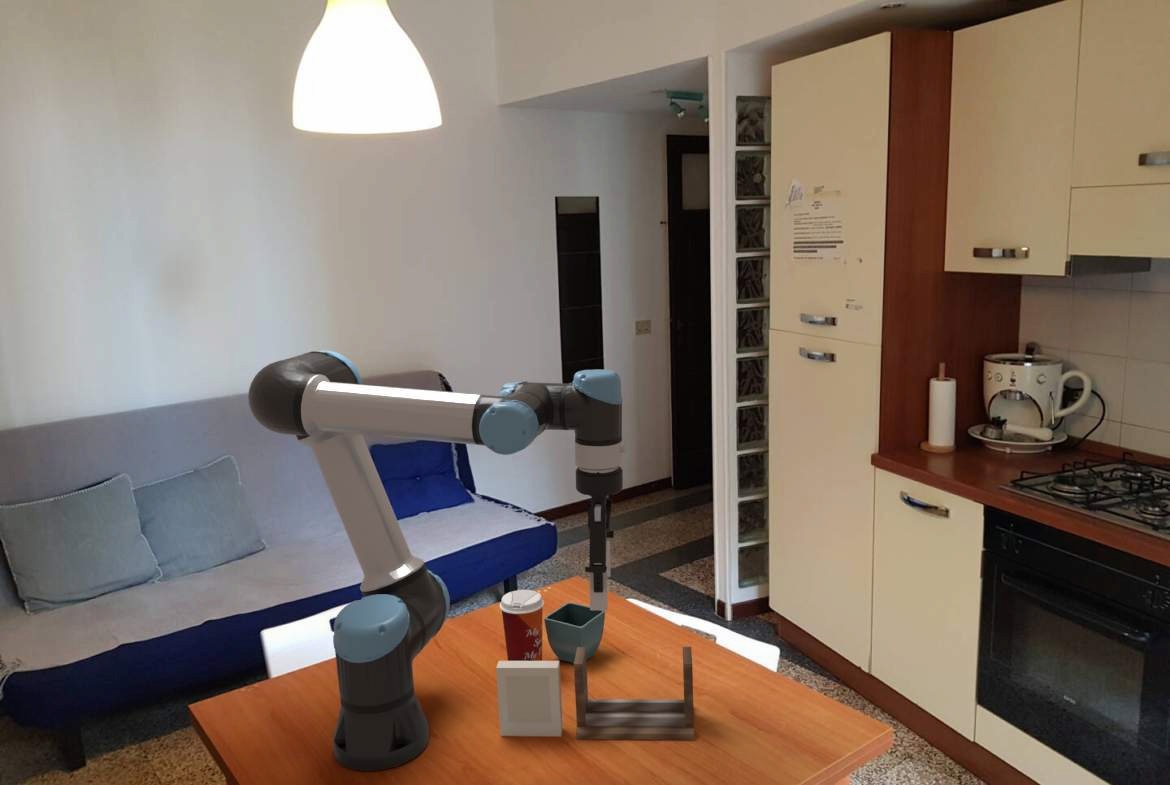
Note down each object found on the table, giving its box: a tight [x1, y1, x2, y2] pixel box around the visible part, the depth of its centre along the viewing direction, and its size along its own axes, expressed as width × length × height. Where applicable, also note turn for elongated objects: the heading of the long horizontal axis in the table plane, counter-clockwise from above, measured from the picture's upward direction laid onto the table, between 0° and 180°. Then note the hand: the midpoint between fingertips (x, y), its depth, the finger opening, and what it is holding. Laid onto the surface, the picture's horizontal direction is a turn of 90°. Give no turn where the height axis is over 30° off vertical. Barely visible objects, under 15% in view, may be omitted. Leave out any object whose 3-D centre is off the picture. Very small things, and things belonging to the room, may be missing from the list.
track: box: [573, 646, 695, 741], centre depth 147 cm, size 19×10×12 cm, turn 85°
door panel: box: [495, 660, 564, 737], centre depth 146 cm, size 10×2×12 cm, turn 85°
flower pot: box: [543, 601, 606, 664], centre depth 171 cm, size 9×9×9 cm
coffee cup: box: [499, 589, 545, 661], centre depth 165 cm, size 8×8×15 cm
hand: (600, 592), depth 146 cm, fingers open, 13 cm apart
